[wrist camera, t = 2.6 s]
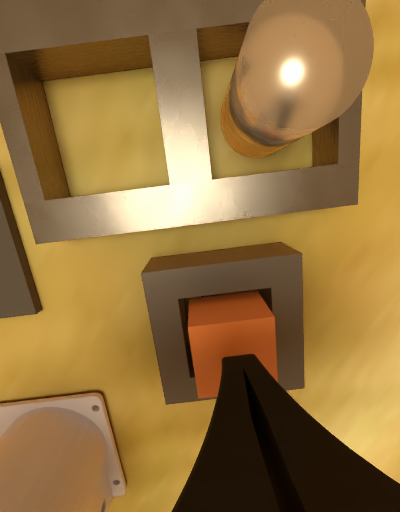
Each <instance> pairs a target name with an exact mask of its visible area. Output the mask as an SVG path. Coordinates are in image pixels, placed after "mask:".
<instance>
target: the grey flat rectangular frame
mask: <svg viewBox="0 0 400 512" xmlns="http://www.w3.org/2000/svg"><path fill="white" fill-rule="evenodd" d="M263 1H264V0H0V123H1V126H2V129H3V133H4V136H5V140H6V143H7V147H8V150H9V153H10V157H11V160H12V164H13V167H14V170H15V174H16V177H17V181H18V184H19V188H20V191H21V194H22V198H23V201H24V205H25V208H26V211H27V215H28V218H29V222H30V225H31V229H32V232H33V235H34V239H35V242H36V244H41V243H49V242H57V241H65V240H74V239H82V238H90V237H98V236H106V235H114V234H122V233H130V232H138V231H146V230H154V229H163V228H171V227H179V226H187V225H195V224H203V223H211V222H219V221H227V220H235V219H243V218H252V217H260V216H268V215H276V214H284V213H292V212H300V211H308V210H316V209H324V208H332V207H341V206H349V205H357V204H358V184H359V158H360V132H361V106H362V90H361V92H360V94H359V96H358V97H357V98H356V100H355V101H354V102H353V104H352V105H351V106H350V107H349V108H348V109H347V110H346V111H345V112H344V113H343V114H341V115H340V116H339V117H338V118H336V119H335V120H333V121H331V122H330V123H328V124H326V125H324V126H322V127H320V128H318V129H317V130H315V131H313V167H310V168H302V169H294V170H286V171H278V172H270V173H262V174H254V175H246V176H238V177H230V178H222V179H214V180H212V176H211V166H210V156H209V147H208V137H207V127H206V118H205V108H204V98H203V89H202V79H201V69H200V61H202V60H210V59H218V58H226V57H233V56H239V54H240V50H241V47H242V44H243V41H244V38H245V35H246V32H247V29H248V26H249V23H250V21H251V19H252V17H253V15H254V13H255V12H256V10H257V9H258V7H259V6H260V4H261V3H262V2H263ZM361 2H362V3H363V5H364V7H365V3H366V0H361ZM147 67H153V71H154V78H155V85H156V92H157V99H158V105H159V112H160V119H161V126H162V133H163V140H164V147H165V154H166V161H167V168H168V174H169V181H170V185H166V186H158V187H150V188H142V189H134V190H126V191H118V192H109V193H101V194H93V195H85V196H77V197H70V194H69V190H68V186H67V182H66V178H65V174H64V170H63V166H62V161H61V157H60V153H59V149H58V145H57V141H56V137H55V133H54V129H53V125H52V121H51V117H50V113H49V108H48V104H47V100H46V96H45V92H44V88H43V84H42V81H46V80H54V79H61V78H69V77H77V76H85V75H93V74H101V73H108V72H116V71H124V70H132V69H140V68H147Z"/></svg>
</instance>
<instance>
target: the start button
mask: <svg viewBox="0 0 400 512" xmlns="http://www.w3.org/2000/svg"><path fill="white" fill-rule="evenodd" d="M188 332H189V339H190V346H191V353H192V359H193V366H194V373H195V379H196V386H197V393H198V399H201V398H209V397H217V396H218V391H219V386H220V380H221V372H222V361H221V360H222V359H223V358H224V357H229V356H237V355H246V354H255V355H256V356H257V358H258V359H259V360H260V362H261V363H262V364H263V366H264V367H265V368H266V369H267V370H268V372H269V373H270V374H271V375H272V376H273V378H274V379H275V380H276V381H277V382H278V374H277V354H276V334H275V317H274V315H273V314H272V312H271V310H270V309H269V307H268V306H267V304H266V303H265V301H264V300H263V298H262V297H261V295H260V294H259V292H258V291H248V292H240V293H232V294H224V295H216V296H207V297H199V298H191V299H189V312H188Z"/></svg>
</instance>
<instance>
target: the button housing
mask: <svg viewBox="0 0 400 512" xmlns="http://www.w3.org/2000/svg"><path fill="white" fill-rule="evenodd" d="M141 276H142V281H143V286H144V291H145V297H146V302H147V307H148V312H149V318H150V323H151V328H152V334H153V339H154V344H155V349H156V355H157V360H158V365H159V371H160V376H161V381H162V386H163V392H164V397H165V402H166V405H167V404H176V403H184V402H192V401H201V400H209V399H217V397H209V398H201V399H198V393H197V386H196V379H195V373H194V366H193V359H192V353H191V346H190V339H189V332H188V324H187V317H186V310H185V304H184V298H190V297H198V296H207V295H215V294H223V293H231V292H239V291H248V290H256V289H258V292H259V294H260V295H261V297H262V298H263V300H264V301H265V303H266V304H267V306H268V307H269V309H270V310H271V312H272V314H273V315H274V317H275V334H276V354H277V374H278V383H279V384H280V385H281V386H282V387H283V389H284V390H293V389H302V388H304V336H303V279H302V253H300V252H298V251H297V250H295V249H293V248H291V247H289V246H287V245H285V244H283V243H282V242H277V243H269V244H261V245H253V246H245V247H237V248H229V249H220V250H212V251H204V252H196V253H188V254H180V255H172V256H163V257H155V258H151V259H150V261H149V262H148V264H147V265H146V267H145V268H144V270H143V271H142V273H141Z"/></svg>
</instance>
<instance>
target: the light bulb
mask: <svg viewBox="0 0 400 512" xmlns="http://www.w3.org/2000/svg"><path fill="white" fill-rule="evenodd" d="M372 59H373V32H372V26H371V22H370V19H369V16H368V13H367V11H366V9H365V7H364V5H363V3H362V2H361V0H264V1H263V2H262V3H261V4H260V6H259V7H258V9H257V10H256V12H255V13H254V15H253V17H252V19H251V21H250V23H249V26H248V29H247V32H246V35H245V38H244V41H243V44H242V47H241V50H240V54H239V57H238V60H237V63H236V66H235V69H234V72H233V75H232V78H231V82H230V85H229V88H228V91H227V94H226V97H225V100H224V103H223V107H222V111H221V127H222V131H223V134H224V137H225V139H226V141H227V142H228V144H229V145H230V146H231V147H232V148H233V149H234V150H235V151H236V152H238V153H239V154H241V155H244V156H246V157H251V158H260V157H265V156H268V155H270V154H272V153H274V152H276V151H278V150H279V149H281V148H283V147H285V146H287V145H289V144H291V143H292V142H294V141H296V140H298V139H300V138H302V137H304V136H305V135H307V134H309V133H311V132H313V131H315V130H317V129H318V128H320V127H322V126H324V125H326V124H328V123H330V122H331V121H333V120H335V119H336V118H338V117H339V116H340V115H341V114H343V113H344V112H345V111H346V110H347V109H348V108H349V107H350V106H351V105H352V104H353V102H354V101H355V100H356V98H357V97H358V96H359V94H360V92H361V90H362V89H363V87H364V85H365V82H366V80H367V78H368V75H369V72H370V68H371V64H372Z"/></svg>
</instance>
